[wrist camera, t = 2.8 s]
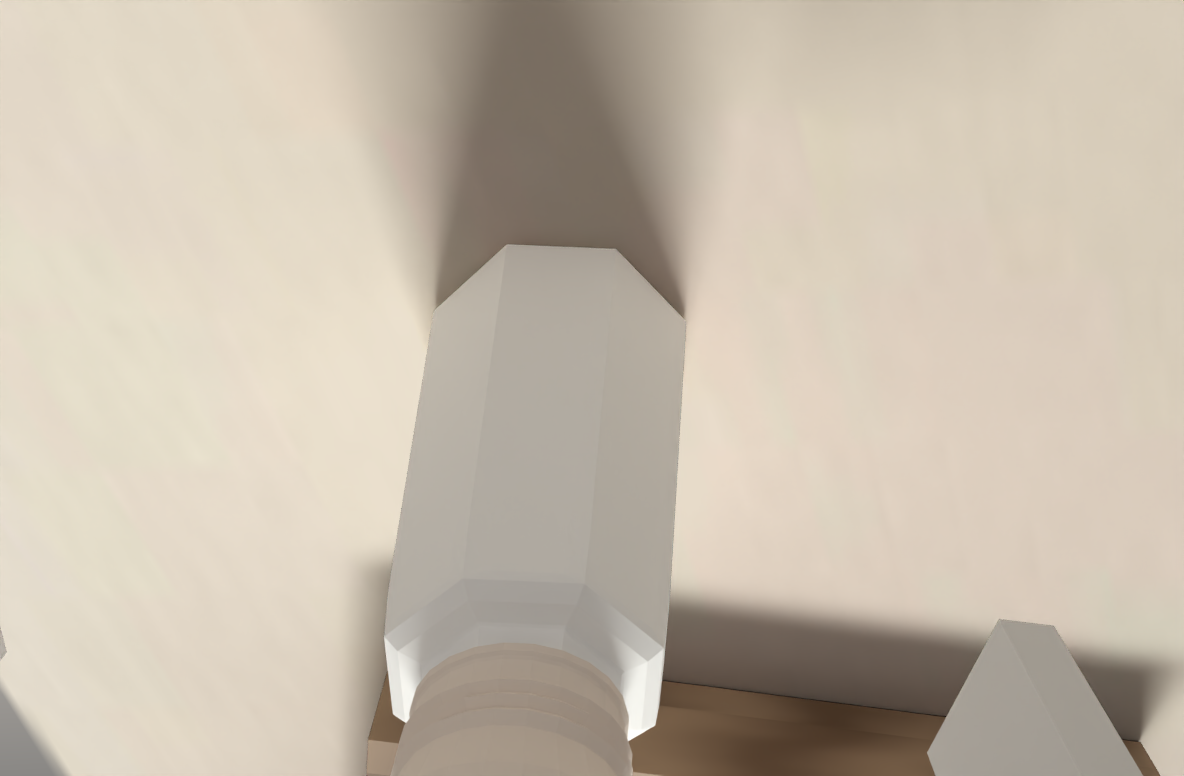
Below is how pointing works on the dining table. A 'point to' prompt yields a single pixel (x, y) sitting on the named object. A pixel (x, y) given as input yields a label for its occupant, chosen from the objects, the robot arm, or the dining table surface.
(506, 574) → the pepper shaker
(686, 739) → the tray
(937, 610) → the dining table surface
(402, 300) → the dining table surface
